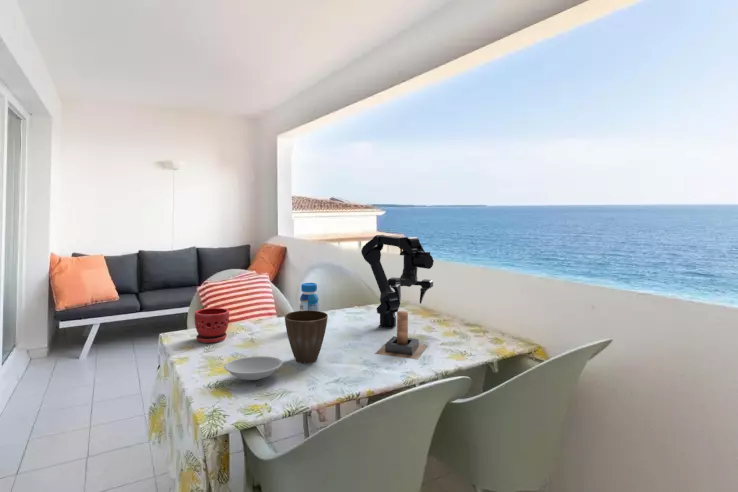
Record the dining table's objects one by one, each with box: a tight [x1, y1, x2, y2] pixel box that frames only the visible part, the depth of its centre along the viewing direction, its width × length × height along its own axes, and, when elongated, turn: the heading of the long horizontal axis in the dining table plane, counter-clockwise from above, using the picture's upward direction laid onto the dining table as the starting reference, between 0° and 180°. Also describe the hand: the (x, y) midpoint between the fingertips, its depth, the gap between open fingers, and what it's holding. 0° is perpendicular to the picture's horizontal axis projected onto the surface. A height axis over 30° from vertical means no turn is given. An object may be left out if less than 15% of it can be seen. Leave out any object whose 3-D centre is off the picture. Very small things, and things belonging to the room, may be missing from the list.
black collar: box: [384, 335, 420, 355], centre depth 158 cm, size 10×10×3 cm
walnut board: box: [374, 343, 429, 360], centre depth 158 cm, size 16×16×1 cm
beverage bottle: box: [299, 282, 320, 311], centre depth 188 cm, size 8×8×20 cm
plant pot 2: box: [284, 310, 329, 364], centre depth 149 cm, size 15×15×16 cm
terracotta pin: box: [396, 310, 409, 345], centre depth 158 cm, size 4×4×14 cm
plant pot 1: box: [194, 307, 230, 344], centre depth 173 cm, size 13×13×12 cm
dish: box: [223, 355, 283, 381], centre depth 133 cm, size 18×14×5 cm
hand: (409, 302), depth 182 cm, fingers open, 9 cm apart
